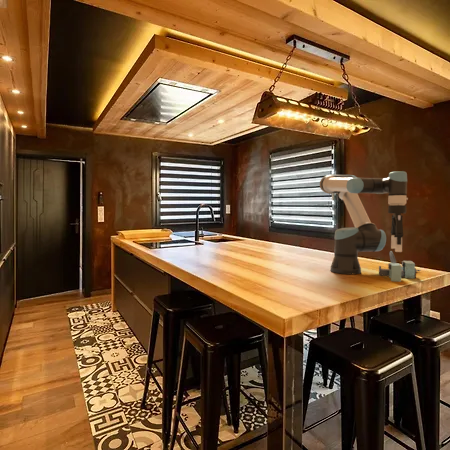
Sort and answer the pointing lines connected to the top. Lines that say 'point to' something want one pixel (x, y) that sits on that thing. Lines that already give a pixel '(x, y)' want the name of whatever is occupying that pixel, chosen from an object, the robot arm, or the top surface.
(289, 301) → the top surface
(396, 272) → the grey green block
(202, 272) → the top surface
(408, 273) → the grey green clamp
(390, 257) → the grey small pieces
